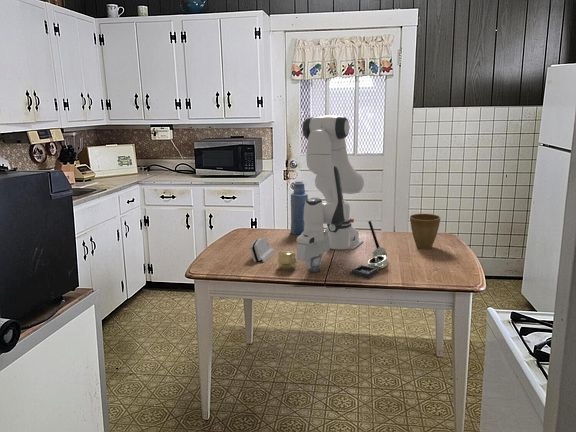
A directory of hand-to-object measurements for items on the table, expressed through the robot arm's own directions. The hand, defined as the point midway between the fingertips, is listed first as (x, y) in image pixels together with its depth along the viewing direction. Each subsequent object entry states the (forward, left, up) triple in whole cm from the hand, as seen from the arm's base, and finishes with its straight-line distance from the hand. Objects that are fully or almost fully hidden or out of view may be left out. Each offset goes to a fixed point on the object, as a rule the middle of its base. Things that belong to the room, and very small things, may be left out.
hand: (314, 265), depth 216 cm
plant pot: (-62, +24, -3) cm, 66 cm away
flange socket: (-10, +20, -3) cm, 22 cm away
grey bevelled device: (-1, -32, -3) cm, 32 cm away
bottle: (-46, -44, -3) cm, 64 cm away
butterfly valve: (-22, +20, -3) cm, 30 cm away
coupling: (0, 0, -2) cm, 2 cm away
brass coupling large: (+4, -12, -3) cm, 13 cm away
